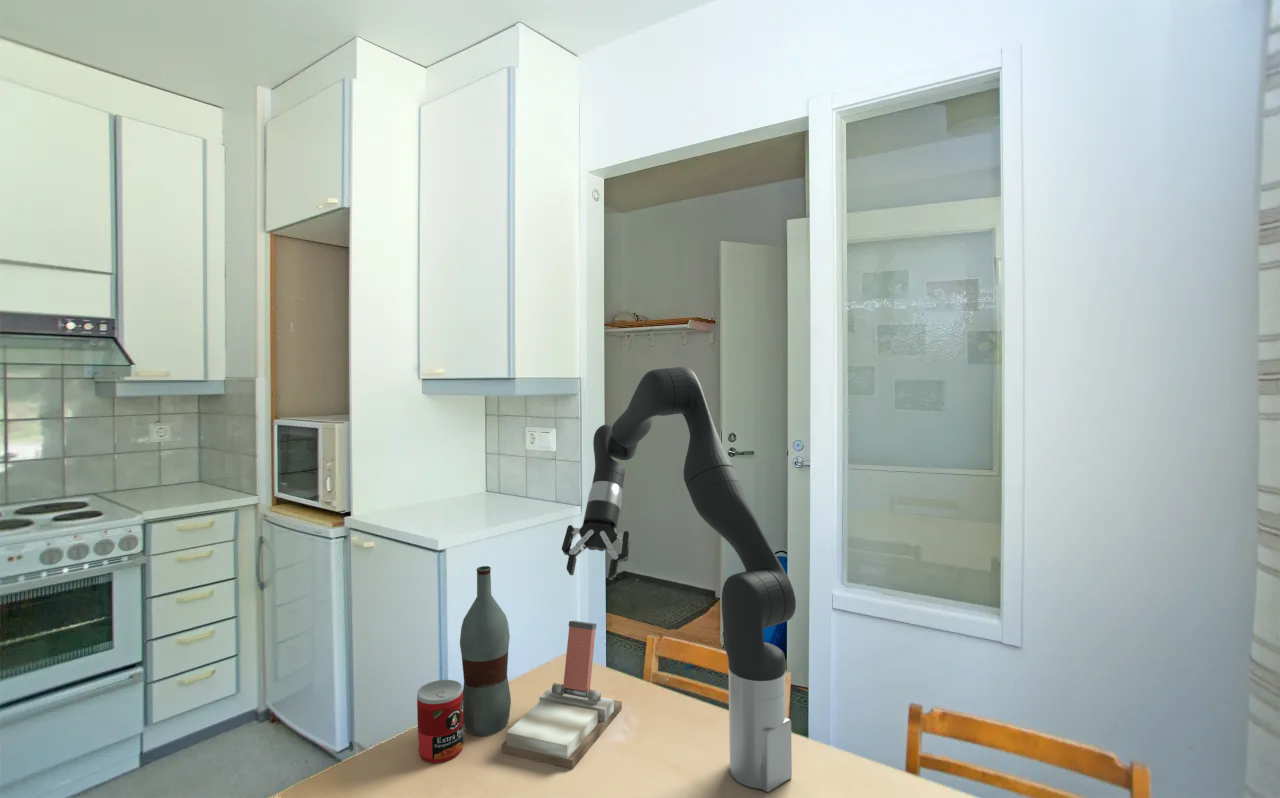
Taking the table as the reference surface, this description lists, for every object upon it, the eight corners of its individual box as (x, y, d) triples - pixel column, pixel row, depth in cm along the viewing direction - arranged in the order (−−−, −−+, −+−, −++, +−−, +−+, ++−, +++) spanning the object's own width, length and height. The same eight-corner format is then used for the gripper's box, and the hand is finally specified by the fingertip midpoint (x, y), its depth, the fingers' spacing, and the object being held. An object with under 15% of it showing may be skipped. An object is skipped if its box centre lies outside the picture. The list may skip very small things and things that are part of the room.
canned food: (436, 769, 106) (434, 704, 105) (408, 753, 110) (407, 691, 110) (473, 748, 112) (472, 687, 112) (445, 734, 117) (444, 675, 116)
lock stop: (566, 692, 123) (573, 620, 126) (589, 697, 121) (596, 623, 124) (561, 694, 122) (569, 621, 125) (585, 699, 120) (592, 624, 123)
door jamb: (559, 697, 130) (559, 669, 130) (621, 709, 125) (621, 679, 125) (501, 752, 110) (501, 719, 110) (572, 769, 105) (572, 734, 105)
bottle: (488, 707, 126) (485, 558, 126) (521, 720, 121) (518, 565, 121) (450, 729, 118) (447, 570, 118) (485, 743, 113) (481, 577, 113)
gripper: (570, 495, 139) (554, 566, 130) (633, 501, 137) (621, 574, 128) (575, 509, 145) (561, 578, 136) (636, 515, 143) (625, 586, 134)
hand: (590, 576), depth 132 cm, fingers open, 8 cm apart
